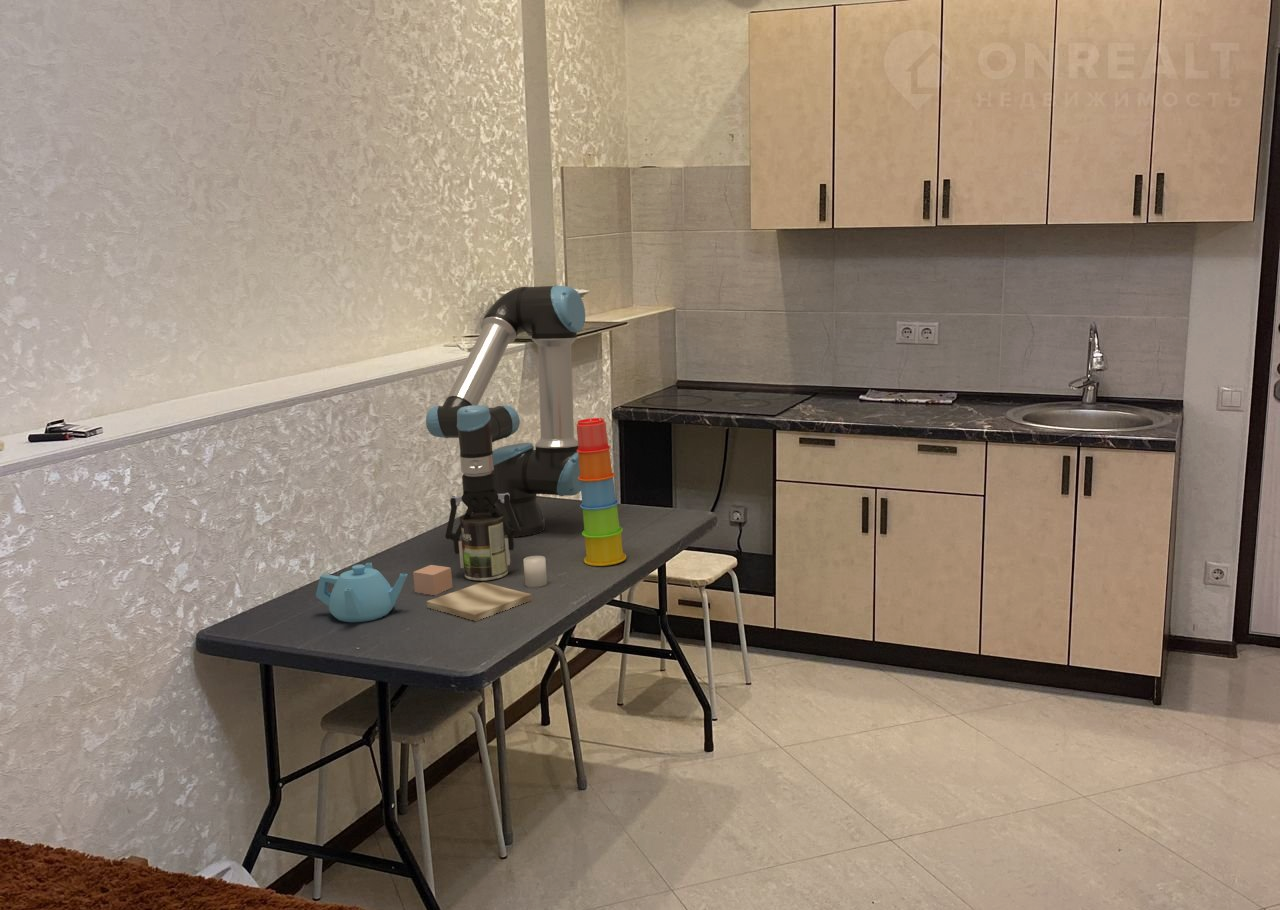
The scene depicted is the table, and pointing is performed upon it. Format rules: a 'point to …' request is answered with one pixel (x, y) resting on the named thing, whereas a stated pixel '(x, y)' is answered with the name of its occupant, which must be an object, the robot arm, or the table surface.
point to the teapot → (359, 594)
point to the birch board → (479, 601)
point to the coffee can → (483, 546)
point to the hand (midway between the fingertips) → (485, 564)
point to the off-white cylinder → (535, 571)
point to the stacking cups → (598, 495)
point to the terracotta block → (432, 579)
